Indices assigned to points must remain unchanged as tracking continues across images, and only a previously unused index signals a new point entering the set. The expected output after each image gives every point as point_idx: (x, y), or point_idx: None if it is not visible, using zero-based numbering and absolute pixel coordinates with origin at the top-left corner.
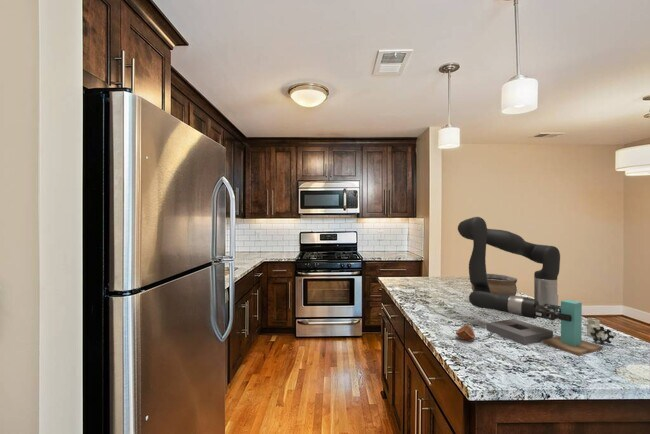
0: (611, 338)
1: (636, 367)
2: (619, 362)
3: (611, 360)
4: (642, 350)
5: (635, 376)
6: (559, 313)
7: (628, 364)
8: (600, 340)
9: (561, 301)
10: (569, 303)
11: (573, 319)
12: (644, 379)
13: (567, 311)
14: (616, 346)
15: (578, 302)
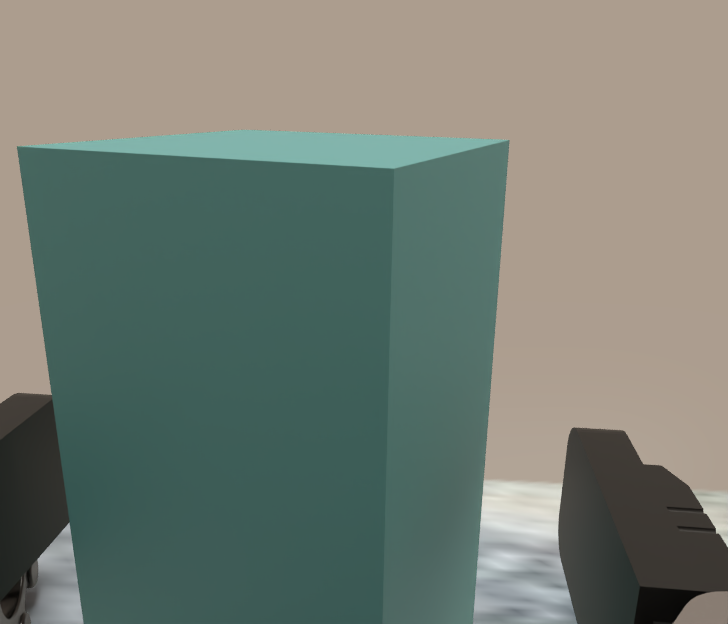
0: None
1: (509, 503)
2: (500, 561)
3: (505, 597)
4: None
5: (707, 514)
6: (698, 577)
7: (490, 527)
8: (14, 619)
9: (401, 187)
10: (481, 169)
11: (481, 498)
12: (703, 491)
13: (449, 418)
14: (46, 562)
15: (277, 133)
